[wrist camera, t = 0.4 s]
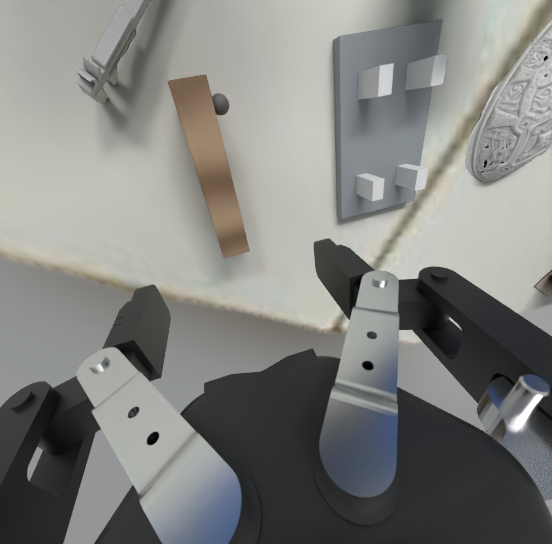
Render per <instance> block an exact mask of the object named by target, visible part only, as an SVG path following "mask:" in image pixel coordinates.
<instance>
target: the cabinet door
mask: <svg viewBox="0 0 552 544" xmlns="http://www.w3.org/2000/svg"><path fill="white" fill-rule="evenodd" d="M168 84H169V87H170V90H171V93H172V97H173V100H174V103H175V106H176V109H177V112H178V115H179V118H180V122H181V125H182V128H183V131H184V134H185V137H186V140H187V144H188V147H189V150H190V153H191V156H192V159H193V162H194V166H195V169H196V172H197V175H198V178H199V181H200V184H201V187H202V191H203V194H204V197H205V200H206V203H207V206H208V209H209V213H210V216H211V219H212V222H213V225H214V228H215V231H216V235H217V238H218V241H219V244H220V247H221V250H222V253H223V256H224V258H226V257H230V256H233V255H237V254H241V253H245V252H249V251H250V250H249V246H248V242H247V238H246V234H245V230H244V226H243V222H242V218H241V214H240V210H239V206H238V202H237V198H236V193H235V189H234V185H233V181H232V177H231V173H230V169H229V165H228V161H227V157H226V153H225V149H224V145H223V141H222V137H221V133H220V129H219V125H218V121H217V117H216V114H217V115H224V114H226V113H227V111H228V109H229V102H228V100H227V98H226V97H225V96H224V95H222V94H215V95H213V97H212V96H211V92H210V88H209V84H208V80H207V76H206V75H200V76H194V77H188V78H182V79H176V80H170V81H168Z"/></svg>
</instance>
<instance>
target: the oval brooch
mask: <svg viewBox="0 0 552 544" xmlns="http://www.w3.org/2000/svg"><path fill="white" fill-rule="evenodd" d="M545 56H547V57H548V59H547V60H546V61H544V60H543V59H544V57H545ZM532 66H534V67H533V68H532ZM545 75H547V77H544V76H545ZM489 117H490V118H489ZM509 143H510V146H509ZM487 144H488V145H487ZM505 145H507V147H508V148H506V146H505ZM486 146H489V148H486ZM551 146H552V19H551V21H550V22H549V23H548V24H547V25H546V26H545V27H544V28H543V29H542V30H541V32H540V33H539V34H538V35H537V36H536V38H535V39H534V40H533V41H532V43H531V44H530V45H529V46H528V47H527V49H526V50H525V51H524V53H523V54H522V55H521V57H520V58H519V59H518V61H517V62H516V63H515V65H514V66H513V67H512V69H511V70H510V71H509V73H508V74H507V75H506V77H505V78H504V79H503V80H502V81H501V82H500V83H499V84H498V85H497V86H496V87H495V89H494V91H493V92H492V94H491V96H490V98H489V99H488V102H487V103H486V106H485V108H484V109H483V111H482V113H481V118H480V120H479V121H478V122H477V124H476V125H475V127H474V128H473V131H472V132H471V135H470V137H469V140H468V144H467V148H466V152H465V155H466V159H465V163H466V168H467V170H468V171H469V173H470V174H471V175H472V176H474V178H477V179H479V180H482V181H492V180H496V179H498V178H501V177H503V176H505V175H507V174H509V173H511V172H513V171H515V170H517V169H518V168H520V167H522V166H523V165H525V164H527V163H528V162H530V161H532V160H533V159H534V158H536V157H537V156H539V155H542V154H543V153H544V152H545V151H547V150H548V149H549V148H550V147H551ZM503 147H504V149H503ZM501 148H502V150H501ZM480 150H481V151H480ZM485 160H487V164H486V165H487V166H486V167H485V168H484V167H483V166H484V161H485ZM491 162H493V163H492V164H491V165H489V164H490V163H491ZM501 162H504V163H502V164H500V163H501ZM505 168H508V169H507V170H505ZM482 171H484V172H483V173H480V172H482ZM480 174H481V175H480Z"/></svg>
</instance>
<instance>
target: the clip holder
mask: <svg viewBox="0 0 552 544" xmlns="http://www.w3.org/2000/svg"><path fill="white" fill-rule="evenodd" d="M441 24H442V20H436V21H430V22H424V23H418V24H412V25H405V26H399V27H393V28H387V29H381V30H374V31H368V32H362V33H356V34H350V35H343V36H339V37H337V38H336V39H334V40H333V50H334V93H335V137H336V180H337V216H338V217H339V218H341V219H345V218H349V217H353V216H357V215H361V214H365V213H368V212H372V211H376V210H380V209H384V208H388V207H392V206H396V205H400V204H403V203H407V202H411V201H415V195H416V190H420V189H424V188H425V185H426V179H427V174H428V168H425V167H421V166H420V162H421V155H422V149H423V142H424V136H425V129H426V123H427V116H428V109H429V103H430V96H431V90H432V86H436V85H441V84H443V80H444V74H445V69H446V63H447V57H448V54H442V55H437V51H438V44H439V37H440V31H441Z"/></svg>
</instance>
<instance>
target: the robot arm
mask: <svg viewBox="0 0 552 544" xmlns="http://www.w3.org/2000/svg"><path fill="white" fill-rule="evenodd" d="M314 256H315V268H316V272H317V275H318V278H319V279H320V281H321V282H322V283H323V285H324V286H325V287H326V289H327V290H328V292H329V293H330V294H331V296H332V297H333V298H334V300H335V301H336V303H337V304H338V305H339V307H340V308H341V309H342V311H343V312H344V314H345V315H346V316H347V318H348V319H349V320H350V322H349V326H348V330H347V334H346V339H345V343H344V347H343V351H342V356H341V359H339V358H335V357H330V356H316V354H315V352H314V350H313V349H309V350H306V351H303V352H300V353H297V354H294V355H290V356H287V357H286V358H284V359H282V360H280V361H279V362H277V363H275V364H274V365H272V366H270V367H269V368H267V369H265V370H263V371H261V372H252V373H240V374H231V375H228V376H225V377H222V378H219V379H216V380H212V381H209V382H206V383H204V393H203V394H202V395H200V396H199V397H197V398H196V399H195V400H193V401H192V402H191V403H190V404H189V405H188V406H187V407H186V408H185V409H184V410H183V411H182V412H181V414H179V413H178V412H177V411H176V410H175V409H174V407H173V406H172V405H171V404H170V403H169V402H168V401H167V400H166V399H165V398H164V397H163V396H162V394H161V393H160V392H159V391H158V390H157V389H156V388H155V387H154V386H153V385H152V384H151V383H150V381H152V380H155V379H158V378H161V375H162V369H163V363H164V357H165V351H166V345H167V339H168V333H169V326H170V321H171V319H170V313H169V310H168V308H167V306H166V304H165V302H164V300H163V298H162V297H161V295H160V293H159V291H158V289H157V288H156V286H155V285H149V286H145V287H142V288H138V289H136V290H135V292H134V295H133V297H132V300H131V301H129V302H127V303H126V304H125V305H124V306H123V307H122V308H121V310H120V311H119V313H118V315H117V317H116V320H115V322H114V324H113V327H112V329H111V331H110V333H109V336H108V338H107V340H106V342H105V344H104V347H103V349H102V350H100V351H98V352H96V353H94V354H93V355H91V356H90V357H89V358H87V359H86V360H85V361H84V362H83V363H82V365H81V366H80V368H79V369H78V371H77V376H76V377H74V378H72V379H70V380H68V381H66V382H64V383H62V384H60V385H58V386H56V387H55V388H53V387H51V386H50V385H49V384H48V383H47V382H36V383H33V384H30V385H28V386H26V387H24V388H23V389H21V390H20V391H18V392H17V393H15V394H14V395H13V396H11V397H10V398H9V399H8V400H7V401H6V402H5V403H4V404H3V405H2V406H1V408H0V544H63V542H64V539H65V536H66V532H67V529H68V525H69V522H70V518H71V515H72V511H73V508H74V505H75V501H76V498H77V494H78V490H79V487H80V484H81V481H82V477H83V474H84V470H85V467H86V463H87V460H88V456H89V453H90V450H91V446H92V443H93V439H94V436H95V433H96V432H97V431H98V430H100V429H102V431H103V433H104V434H105V436H106V438H107V440H108V441H109V443H110V445H111V447H112V448H113V450H114V451H115V454H116V455H117V457H118V459H119V461H120V462H121V464H122V465H123V467H124V469H125V471H126V473H127V474H128V476H129V478H130V480H131V481H132V483H133V485H132V487H131V488H130V490H129V492H128V493H127V495H126V496H125V498H124V499H123V501H122V502H121V504H120V505H119V507H118V508H117V510H116V511H115V513H114V514H113V516H112V518H111V519H110V520H109V522H108V523H107V525H106V527H105V528H104V530H103V531H102V533H101V534H100V536H99V537H98V539H97V540H96V542H95V543H94V544H552V516H551V514H550V512H549V509H548V507H550V506H552V336H550V335H549V334H547V333H546V332H544V331H543V330H541V329H540V328H538V327H537V326H535V325H534V324H532V323H531V322H529V321H528V320H526V319H525V318H523V317H522V316H520V315H519V314H517V313H516V312H514V311H513V310H511V309H510V308H508V307H507V306H505V305H504V304H502V303H501V302H499V301H498V300H496V299H495V298H493V297H492V296H490V295H489V294H487V293H486V292H484V291H483V290H481V289H480V288H478V287H477V286H475V285H474V284H472V283H471V282H469V281H468V280H466V279H465V278H463V277H462V276H460V275H459V274H457V273H456V272H454V271H452V270H450V269H447V268H443V267H427V268H424V269H422V270H421V271H420V272H419V276H418V279H406V280H398V278H397V277H396V276H395V275H393V274H391V273H389V272H385V271H375V270H374V269H373V268H372V267H370V266H369V265H368V264H367V263H366V262H365V261H364V260H362V259H361V258H360V257H359V256H358V255H357V254H355V253H354V252H353V251H352V250H351V249H350V248H348V247H345V246H343V245H338V246H337V245H336V244H335V243H334V242H333V241H332V240H330V239H329V238H327V239H324V240H320V241H316V242H314ZM449 317H451V318H452V319H453V320H454V321H455V322H456V323H457V324H458V325H459V326H460V327H461V329H462V330H460V329H459V328H458V327H457V326H456V325H455V324H454V323H453V322H451V321H450V320H449ZM399 330H413V331H414V333H415V334H416V335H417V336H418V337H419V338H420V339H421V340H422V341H423V343H424V344H425V345H426V346H427V347H428V348H429V349H430V350H431V351H432V352H433V354H434V355H435V356H436V357H437V358H438V359H439V361H440V362H441V363H442V364H443V365H444V366H445V367H446V368H447V369H448V371H450V373H451V374H452V375H453V376H454V377H455V378H456V380H457V381H458V382H459V383H460V384H461V385H462V386H463V387H464V388H465V390H466V391H467V392H468V393H469V394H470V395H471V396H472V397H473V399H474V400H475V401H476V402H477V403H478V405H477V414H478V417H479V419H480V421H481V423H482V424H483V426H484V427H485V429H486V433H485V432H484V431H482V430H480V429H479V428H477V427H475V426H473V425H471V424H469V423H467V422H465V421H463V420H461V419H459V418H457V417H455V416H453V415H452V414H449V413H447V412H445V411H444V410H442V409H440V408H438V407H436V406H434V405H432V404H430V403H428V402H426V401H424V400H422V399H420V398H418V397H416V396H414V395H412V394H410V393H408V392H406V391H405V390H403V389H401V388H399V387H397V378H398V377H397V376H398V343H399ZM37 447H39V448H41V449H42V450H43V452H42V454H41V457H40V459H39V461H38V464H37V466H36V468H35V470H34V473H33V475H32V477H31V479H30V482H29V481H28V478H27V468H28V466H29V463H30V461H31V459H32V457H33V454H34V452H35V450H36V448H37Z"/></svg>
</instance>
